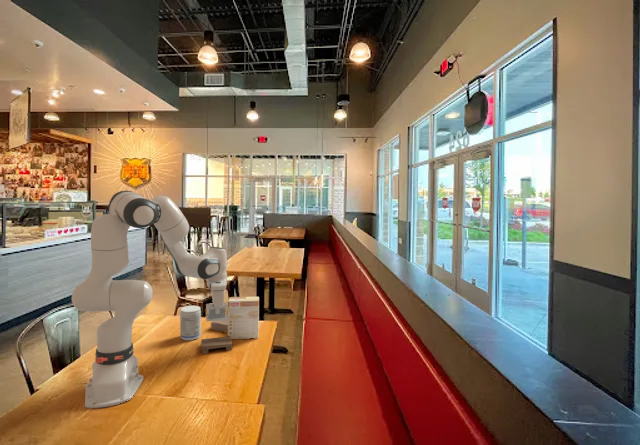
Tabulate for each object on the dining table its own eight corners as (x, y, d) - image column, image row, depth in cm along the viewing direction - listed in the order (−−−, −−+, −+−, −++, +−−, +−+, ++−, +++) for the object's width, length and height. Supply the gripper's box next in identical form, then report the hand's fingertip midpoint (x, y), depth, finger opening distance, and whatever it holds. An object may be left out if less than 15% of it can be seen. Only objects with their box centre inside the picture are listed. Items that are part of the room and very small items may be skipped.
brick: (246, 328, 188) (246, 320, 188) (238, 334, 180) (238, 325, 180) (219, 324, 193) (219, 316, 193) (210, 330, 185) (210, 321, 184)
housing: (206, 321, 159) (206, 307, 158) (206, 317, 163) (206, 304, 163) (227, 319, 162) (227, 305, 161) (226, 315, 167) (226, 302, 166)
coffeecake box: (258, 333, 182) (259, 296, 181) (258, 338, 175) (258, 300, 174) (229, 333, 180) (229, 296, 179) (227, 339, 173) (227, 300, 172)
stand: (232, 349, 162) (232, 343, 162) (202, 353, 157) (202, 347, 157) (229, 342, 170) (229, 336, 170) (201, 345, 166) (201, 339, 165)
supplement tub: (182, 333, 179) (182, 305, 178) (202, 333, 180) (202, 304, 179) (178, 341, 169) (178, 311, 168) (198, 340, 171) (198, 311, 170)
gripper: (208, 276, 170) (208, 304, 171) (211, 288, 151) (211, 319, 152) (221, 276, 172) (221, 303, 173) (226, 287, 153) (226, 318, 154)
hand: (216, 311), depth 162 cm, fingers closed on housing, 5 cm apart
